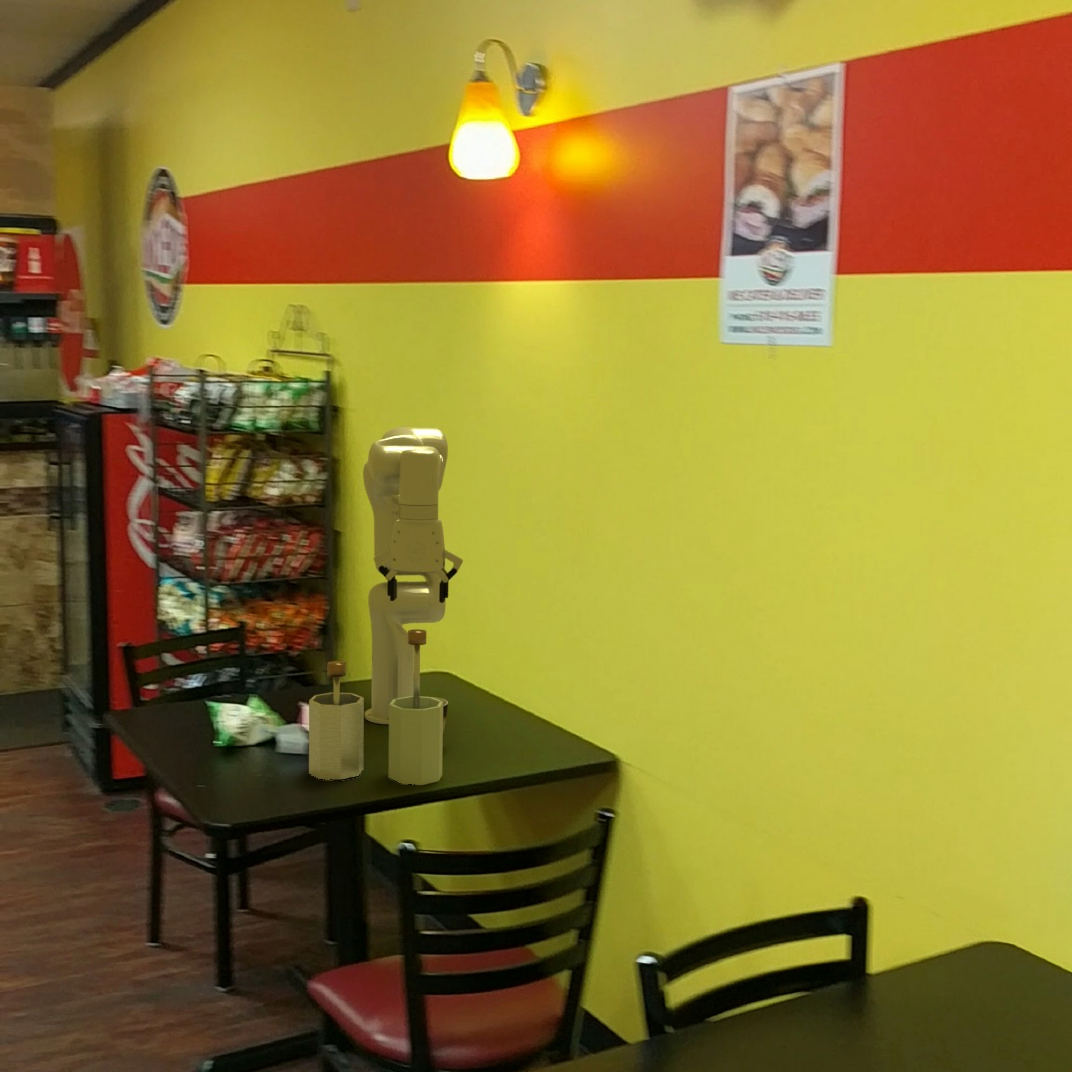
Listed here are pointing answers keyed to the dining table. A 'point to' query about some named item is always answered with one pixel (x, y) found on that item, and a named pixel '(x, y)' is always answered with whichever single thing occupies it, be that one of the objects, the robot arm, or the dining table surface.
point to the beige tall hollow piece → (336, 736)
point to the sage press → (415, 740)
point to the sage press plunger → (416, 662)
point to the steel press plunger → (336, 677)
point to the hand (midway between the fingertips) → (417, 600)
